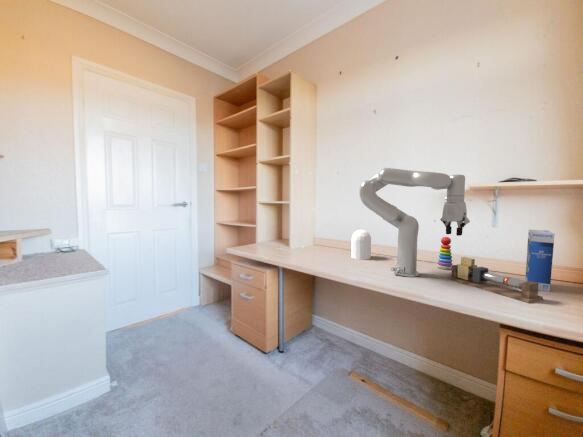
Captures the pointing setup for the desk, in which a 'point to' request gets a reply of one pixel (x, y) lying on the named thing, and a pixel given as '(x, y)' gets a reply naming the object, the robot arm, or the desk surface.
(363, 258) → the container
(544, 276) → the string lights box
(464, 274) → the sleeve
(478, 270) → the grey square collar
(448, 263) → the stacking toy
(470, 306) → the desk surface
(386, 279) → the desk surface
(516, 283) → the pipe
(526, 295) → the stand
